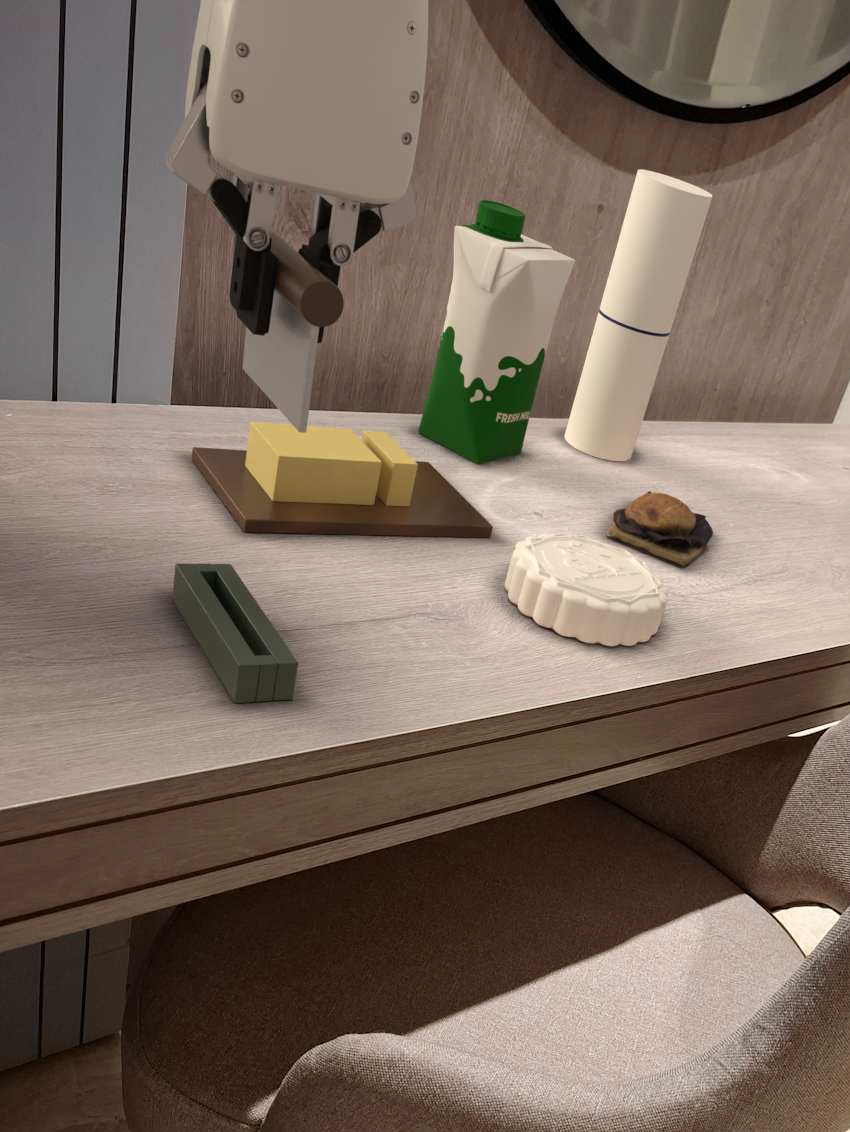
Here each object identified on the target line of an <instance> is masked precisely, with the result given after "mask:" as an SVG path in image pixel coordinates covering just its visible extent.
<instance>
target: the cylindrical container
mask: <svg viewBox="0 0 850 1132" xmlns="http://www.w3.org/2000/svg"><path fill="white" fill-rule="evenodd" d="M712 199H713V194H711V192H708V191H707V190H705V189H703V188H701V187H699V186H696V185H694V184H692V183H689V182H687V181H684V180H682V179H678V178H675V177H673V176H670V175H666V174H663V173H659V172H655V171H653V170H648V169H637V172H636V175H635V180H634V183H633V185H632V189H631V193H630V197H629V200H628V203H627V208H626V212H625V216H624V219H623V222H622V225H621V230H620V233H619V237H618V241H617V244H616V248H615V251H614V255H613V259H612V262H611V266H610V270H609V274H608V277H607V281H606V284H605V287H604V291H603V295H602V298H601V302H600V306H599V310H598V312H597V316H596V320H595V324H594V328H593V332H592V334H591V339H590V342H589V345H588V349H587V352H586V357H585V360H584V362H583V363H584V364H583V367H582V371H581V375H580V378H579V382H578V385H577V389H576V393H575V396H574V400H573V403H572V407H571V409H570V410H571V411H570V414H569V417H568V422H567V425H566V429H565V433H564V437H563V438H564V440H565V441H566V442H567V444H569V445H570V446H571V447H572V448H575V449H576V450H577V451H580V452H582V453H584V454H586V455H588V456H591V457H595V458H598V459H602V460H606V461H612V462H626V461H629V460H631V459H632V456H633V453H634V450H635V447H636V443H637V440H638V437H639V434H640V431H641V427H642V424H643V421H644V417H645V414H646V411H647V409H648V405H649V402H650V398H651V396H652V392H653V389H654V386H655V382H656V380H657V376H658V373H659V369H660V365H661V363H662V359H663V356H664V354H665V350H666V347H667V343H668V341H669V338H670V334H671V330H672V328H673V324H674V321H675V318H676V315H677V312H678V309H679V305H680V302H681V298H682V296H683V292H684V289H685V287H686V283H687V280H688V276H689V273H690V270H691V266H692V264H693V260H694V257H695V254H696V250H697V249H698V244H699V241H700V237H701V235H702V231H703V228H704V225H705V222H706V219H707V215H708V212H709V209H710V205H711V204H712V203H711V202H712Z"/></svg>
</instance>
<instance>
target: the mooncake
mask: <svg viewBox="0 0 850 1132" xmlns="http://www.w3.org/2000/svg"><path fill="white" fill-rule="evenodd" d="M505 577H506V578H505V581H504V588H505V591H507V597H508V600H509V601H510V602H511V603H512V604H514V605H516V606H517V608H518V611H519V612H520V613H521V614H522V615H524V616H526V617H529V618H532V619H533V621H534V623H536V624H537V625H538V626H541V627H543V628H547V629H552V630H553V631H554V632H555V633H557V634H558V635H560V636H562V637H567V638H575V639H577V640H578V641H581V642H582V643H586V644H600V645H603V646H606V647H616V646H618V645H621V646H626V647H632V646H635V645H636V644H637V643H644V642H648V641H649V640H650V639H651V637H652V636H653V635H656V633H657V632H658V630H659V627H660V624H661V622H662V619H663V616H664V613H665V610H666V607H667V605H668V602H669V598H668V595H669V589H668V587H667V585H666V584H664V580H663V577H662V576H660V574H658V573H656V572H655V571H653V569H652V568H651V566H650V565H649V564H647V563H646V561H645V560H643V559H641V558H638V557H635V556H634V555H633V554H631V553H630V552H629V551H628V550H627V549H623V548H620V547H616V546H613V545H611V544H608V543H603V542H601V541H598V540H595V539H593V538H591V537H589V536H586V535H584V534H571V533H570V534H569V533H566V532H562V531H560V532H557V533H551V532H545V533H544V532H543V533H541V534H539V535H529V536H526V537H525V539H524V540H520V541H517V543H516V544H515V546H514V550H513V552H512V555H511V559H510V561H509V567H508V569H507V574H506V576H505Z"/></svg>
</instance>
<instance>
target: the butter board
mask: <svg viewBox="0 0 850 1132" xmlns="http://www.w3.org/2000/svg"><path fill="white" fill-rule="evenodd" d="M246 454H247V449H246V450H245V449H231V448H230V449H229V448H228V449H227V448H213V447H200V446H199V447H197V446H193V447H192V451H191V460H192V462H193V463H194V464H195V466H196V467H197V468H198V470H199V472H200V473H201V474H202V476H203V477H204V478H205V480H206V481H207V483H208V484H209V485H210V486H211V488H212V489H213V490H214V492H215V494H216V495H217V496H218V498H219V499H220V501H221V502H222V503H223V505H224V506H225V507H226V509H227V510H228V511H229V513H230V514H231V516H232V517H233V518H234V520H235V521H236V522H237V523H238V526H240V528H241V529H242V530H243V532H244V533H263V534H264V533H268V534H269V533H270V534H308V535H309V534H310V535H311V534H312V535H355V536H357V535H358V536H359V535H360V536H396V537H397V536H403V537H444V538H445V537H449V538H491V536H492V532H493V529H494V526H493V525H492V524H491V523H490V522H489V521H488V520H487V519H486V518H485V517H484V516H483V515H482V514H481V513H480V512H479V511H478V510H477V509H476V508H475V507H474V506H473V505H472V503H470V502H469V501H468V500H467V499H466V498H465V497H464V495H462V494H461V492H459V491H458V490H457V488H455V487H454V486H453V485H452V484H451V483H450V482H449V481H448V480H447V479H446V478H445V477H444V476H443V475H442V474H441V473H440V472H439V471H438V470H437V469H436V468H435V467H434V466H433V465H432V464H431V463H430V462H429V461H420V460H414V461H415V462H416V463H417V464H418V467H417V471H416V476H415V481H414V486H413V491H412V495H411V500H410V505H409V506H386V505H385V504H384V503H383V501H382V500H381V499H380V498H379V497H378V496H377V495H376V496H375V502H374V505H357V504H331V503H304V502H278V501H272V500H271V498H270V497H269V496H268V494H267V493H266V492H265V491H264V489H263V488H262V487H261V485H260V484H259V483H258V482H257V480H256V479H255V478H254V477H253V475H252V474H251V473H250V471H249V470H248V469H247V468H246V466H245V462H246Z"/></svg>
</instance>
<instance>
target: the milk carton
mask: <svg viewBox="0 0 850 1132" xmlns="http://www.w3.org/2000/svg"><path fill="white" fill-rule="evenodd" d="M525 221H526V214H525V213H524V212H523V211H521V210H519V209H517V208H514V207H512V206H510V205H506V204H504V203H501V202H497V201H492V200H487V199H481V200H480V201H479V202H478V207H477V212H476V216H475V221H474V223H471V224H470V225H469V224H462V225H455V226H454V228H453V231H454V233H453V269H452V270H453V273H452V281H451V286H450V291H449V297H448V301H447V305H446V311H445V316H444V320H443V325H442V329H441V335H440V340H439V344H438V349H437V354H436V360H435V364H434V368H433V373H432V377H431V382H430V385H429V390H428V391H427V392H428V394H427V397H426V400H425V405H424V408H423V411H422V414H421V419H420V423H419V427H418V430H417V433H418V434H420V435H422V436H424V437H426V438H428V439H430V440H431V441H434V442H436V443H437V444H439V445H441V446H443V447H445V448H447V449H449V450H451V451H452V452H455V453H456V454H458V455H460V456H462V457H464V458H466V459H468V460H469V461H471V462H474V463H475V464H477V465H479V464H483V463H488V462H492V461H496V460H501V459H506V458H509V457H514V456H517V455H521V454H522V451H523V447H524V442H525V437H526V434H527V429H528V426H529V421H530V417H531V413H532V409H533V405H534V401H535V396H536V393H537V389H538V384H539V381H540V377H541V373H542V370H543V365H544V362H545V358H546V354H547V351H548V346H549V343H550V338H551V334H552V331H553V328H554V323H555V318H556V315H557V312H558V309H559V306H560V303H561V300H562V298H563V294H564V292H565V289H566V287H567V284H568V281H569V278H570V276H571V274H572V270H573V268H574V266H575V263H576V259H574V258H572V257H570V256H568V255H565V254H563V253H561V252H559V251H557V250H555V249H554V247H552V246H551V245H549V244H546V243H545V242H544V243H543V242H540V241H538V240H535V239H533V238H530V237H528V236H526V235H524V234H523V229H524V226H525Z"/></svg>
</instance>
